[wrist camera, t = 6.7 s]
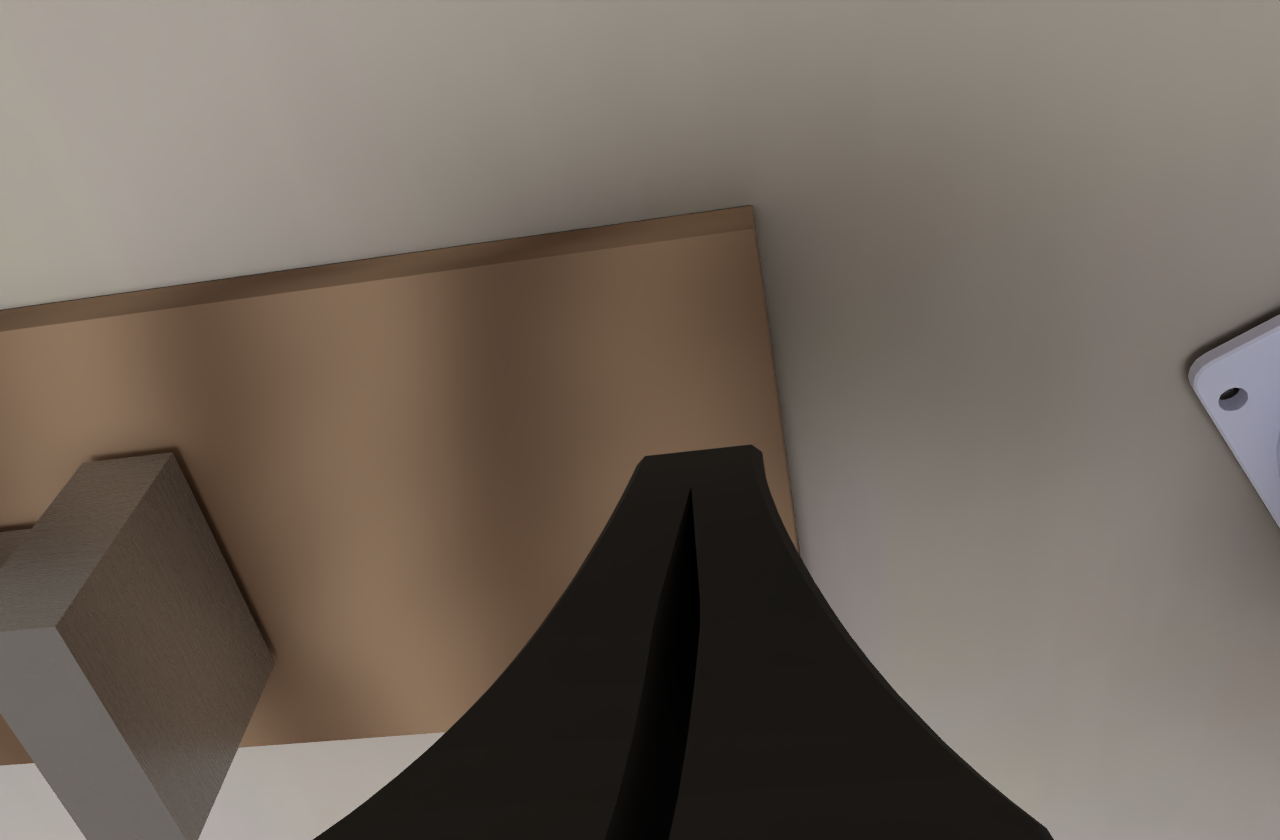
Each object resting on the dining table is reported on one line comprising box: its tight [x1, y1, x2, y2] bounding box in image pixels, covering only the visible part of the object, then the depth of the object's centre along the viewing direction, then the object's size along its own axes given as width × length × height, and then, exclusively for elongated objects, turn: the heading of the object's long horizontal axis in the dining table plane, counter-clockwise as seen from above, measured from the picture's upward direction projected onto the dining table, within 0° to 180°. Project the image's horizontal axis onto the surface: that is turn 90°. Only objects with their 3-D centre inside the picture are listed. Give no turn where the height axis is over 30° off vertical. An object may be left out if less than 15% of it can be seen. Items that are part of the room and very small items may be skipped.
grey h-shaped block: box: [0, 452, 275, 840], centre depth 24 cm, size 8×6×5 cm
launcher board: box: [0, 206, 800, 765], centre depth 26 cm, size 23×12×1 cm, turn 100°
